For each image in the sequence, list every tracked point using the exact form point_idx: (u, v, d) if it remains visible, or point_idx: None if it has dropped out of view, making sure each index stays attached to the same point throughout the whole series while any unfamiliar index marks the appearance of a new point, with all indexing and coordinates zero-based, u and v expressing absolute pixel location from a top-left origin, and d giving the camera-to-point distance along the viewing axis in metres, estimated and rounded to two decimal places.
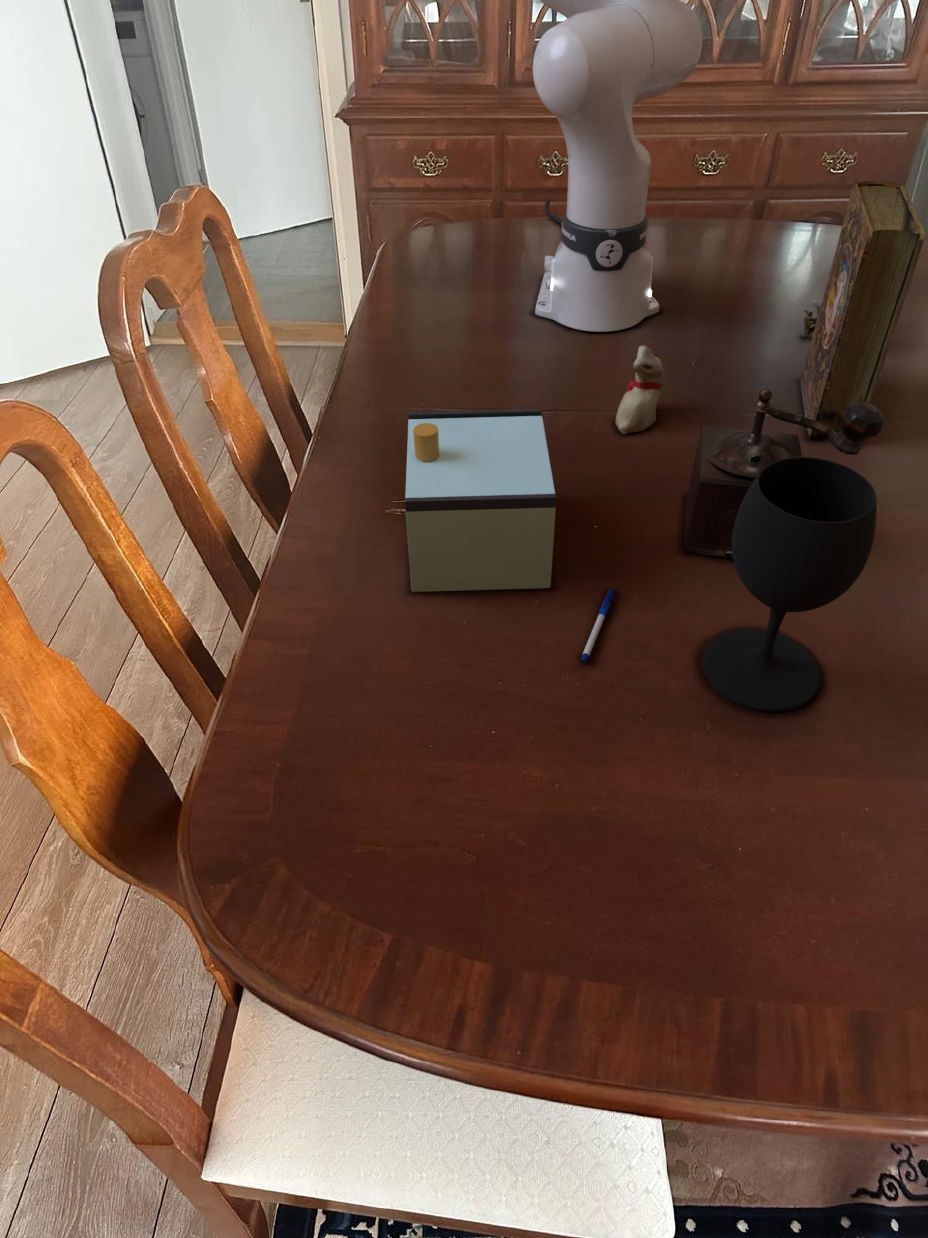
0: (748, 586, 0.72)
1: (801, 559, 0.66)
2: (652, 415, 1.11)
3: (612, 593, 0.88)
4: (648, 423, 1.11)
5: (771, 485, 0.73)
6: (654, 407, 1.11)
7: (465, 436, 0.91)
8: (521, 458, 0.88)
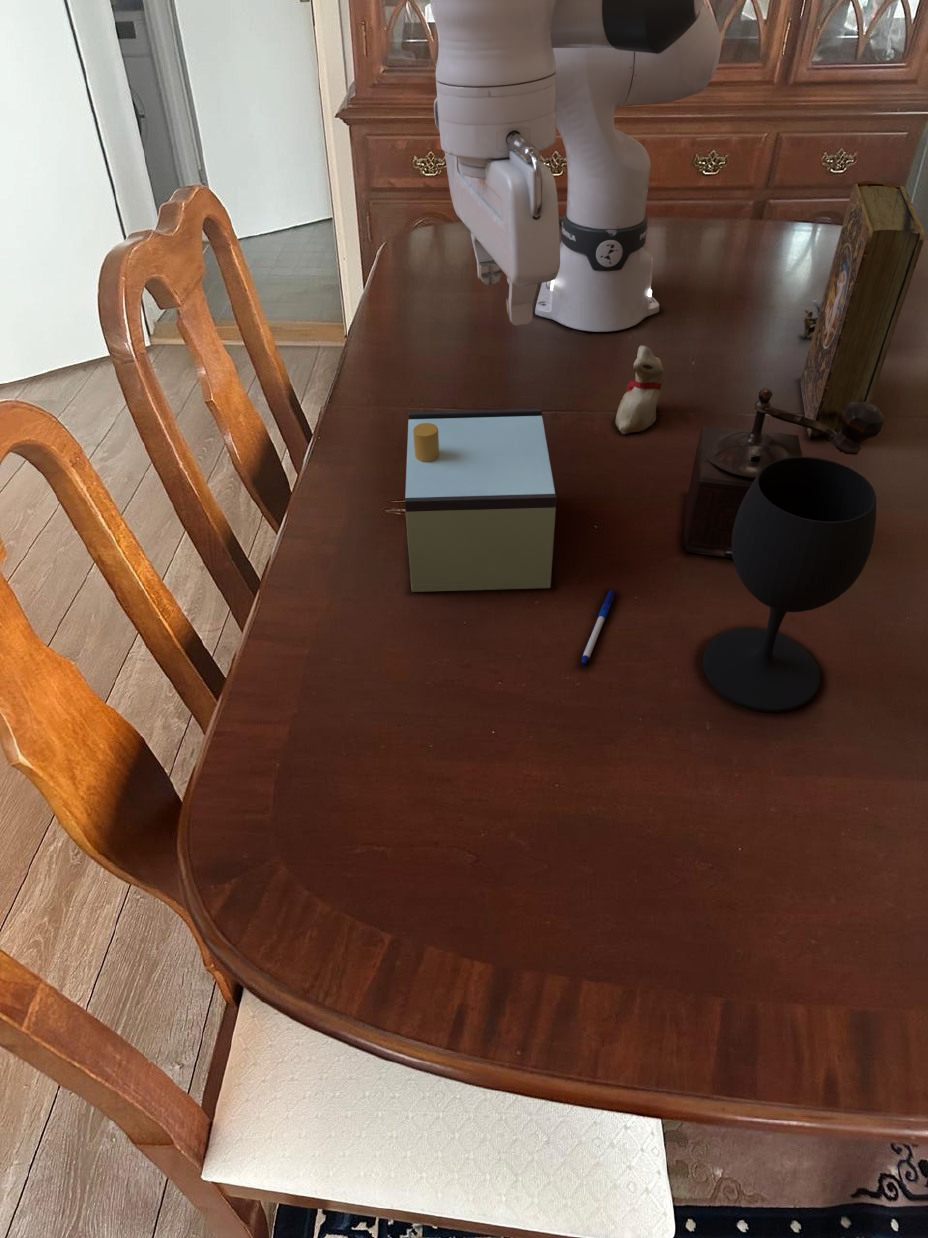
0: (748, 586, 0.72)
1: (801, 559, 0.66)
2: (652, 415, 1.11)
3: (612, 595, 0.88)
4: (648, 423, 1.11)
5: (770, 485, 0.73)
6: (654, 407, 1.11)
7: (465, 436, 0.91)
8: (521, 458, 0.88)
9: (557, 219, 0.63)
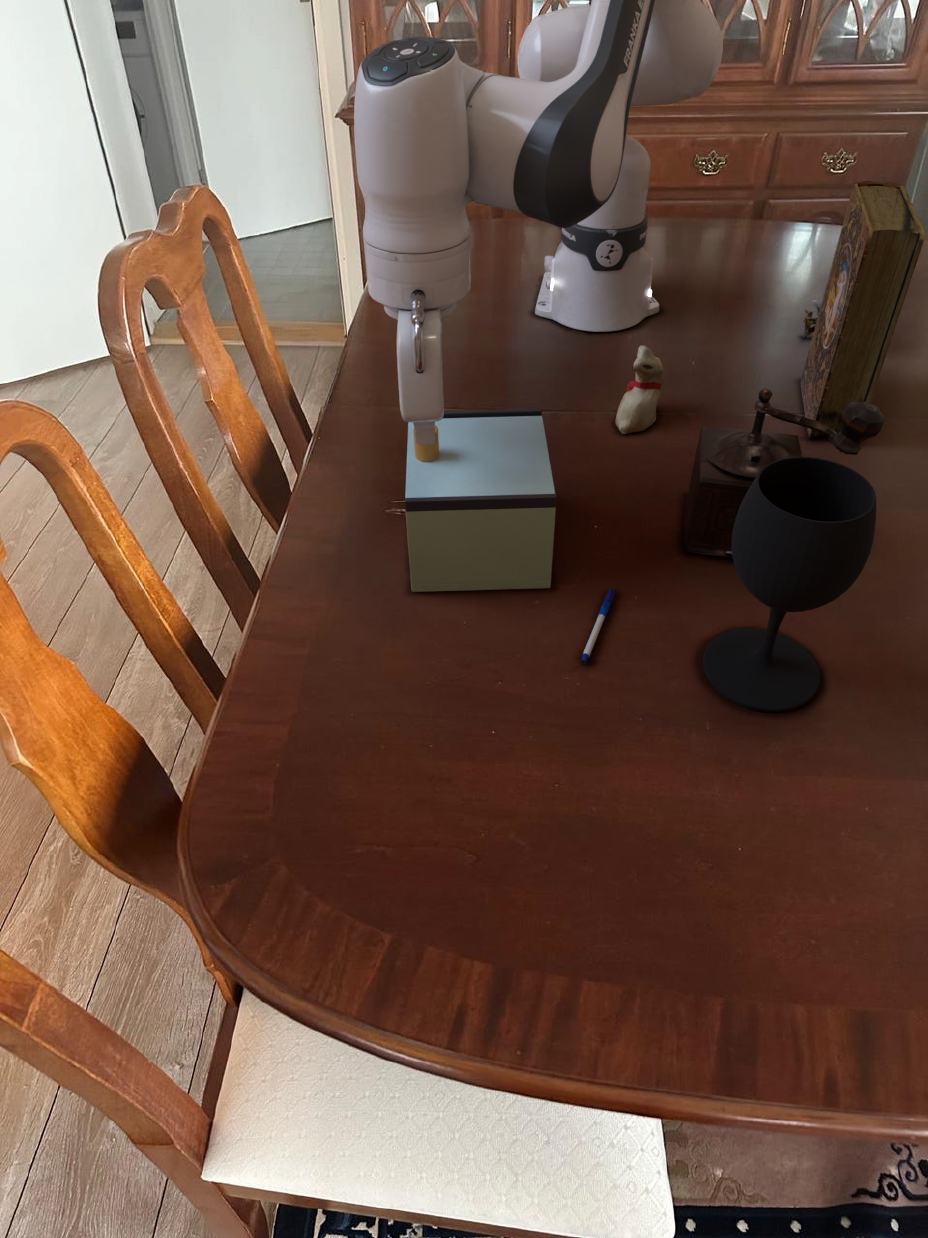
0: (748, 586, 0.72)
1: (801, 559, 0.66)
2: (652, 415, 1.11)
3: (612, 593, 0.88)
4: (648, 423, 1.11)
5: (770, 485, 0.73)
6: (654, 407, 1.11)
7: (465, 436, 0.91)
8: (521, 458, 0.88)
9: (439, 375, 0.72)
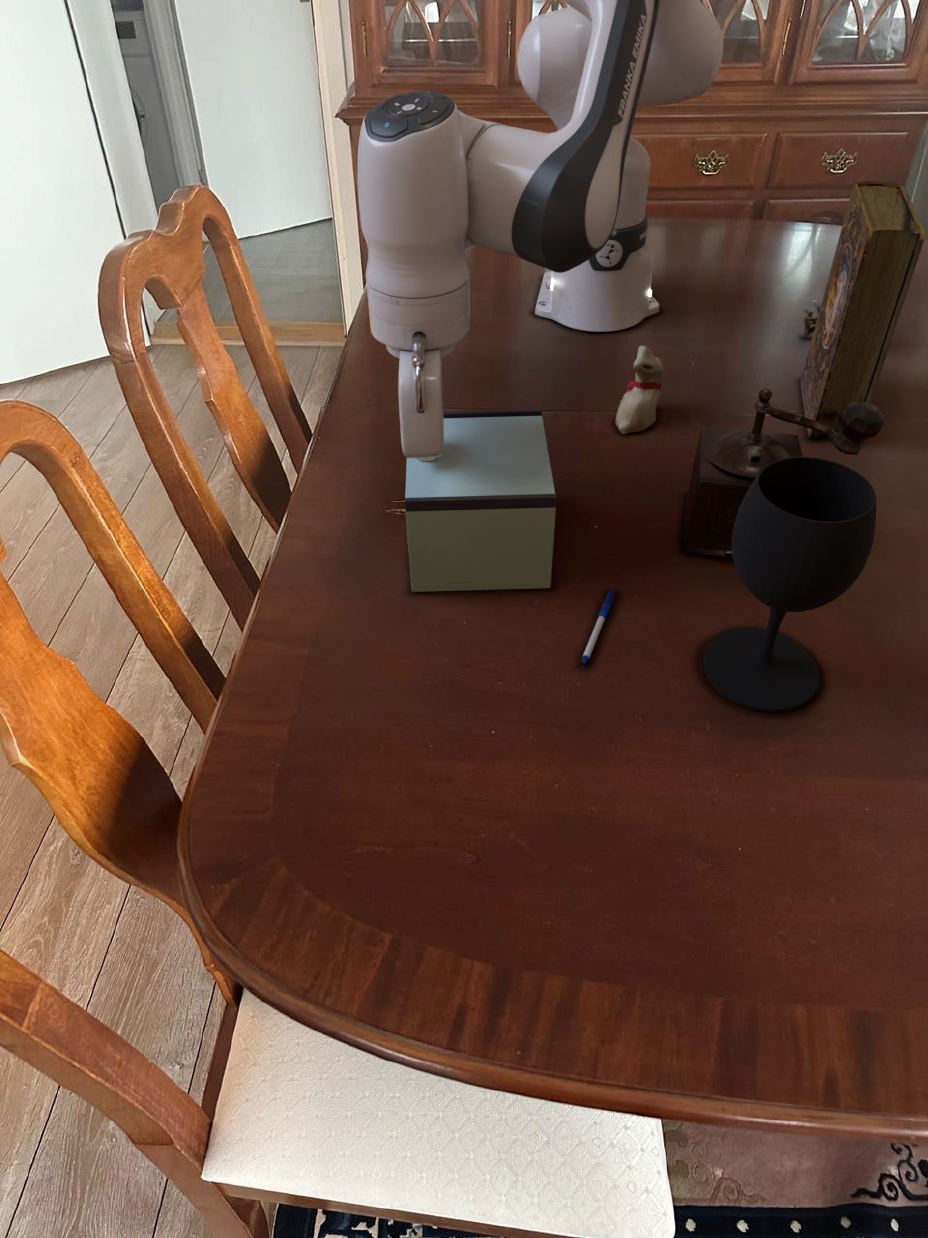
0: (748, 586, 0.72)
1: (801, 559, 0.66)
2: (652, 415, 1.11)
3: (612, 595, 0.88)
4: (648, 423, 1.11)
5: (770, 485, 0.73)
6: (654, 407, 1.11)
7: (465, 436, 0.91)
8: (521, 458, 0.88)
9: (439, 414, 0.74)
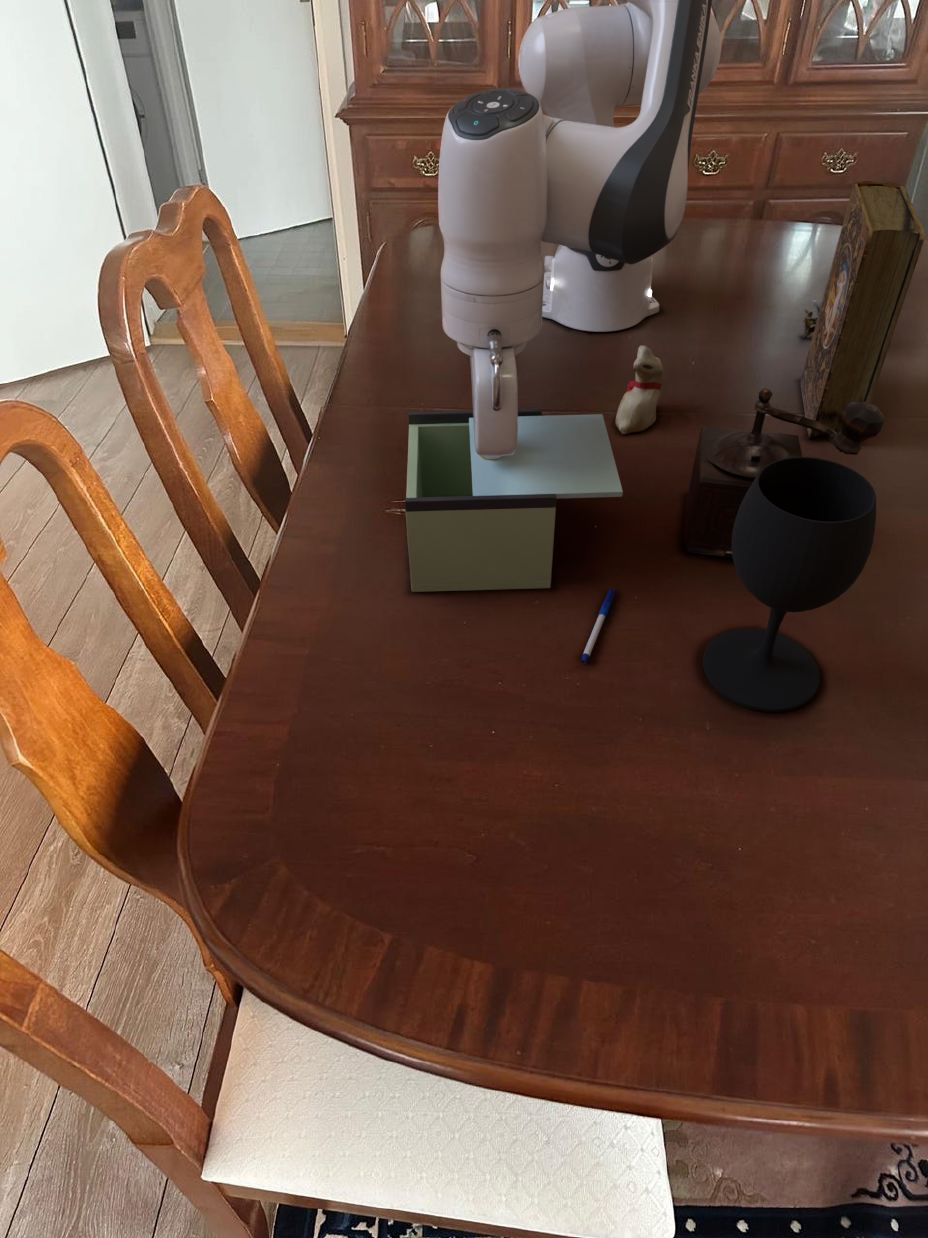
0: (748, 586, 0.72)
1: (801, 559, 0.66)
2: (652, 415, 1.11)
3: (612, 593, 0.88)
4: (648, 423, 1.11)
5: (770, 485, 0.73)
6: (654, 407, 1.11)
7: (527, 434, 0.91)
8: (585, 456, 0.88)
9: (515, 412, 0.74)
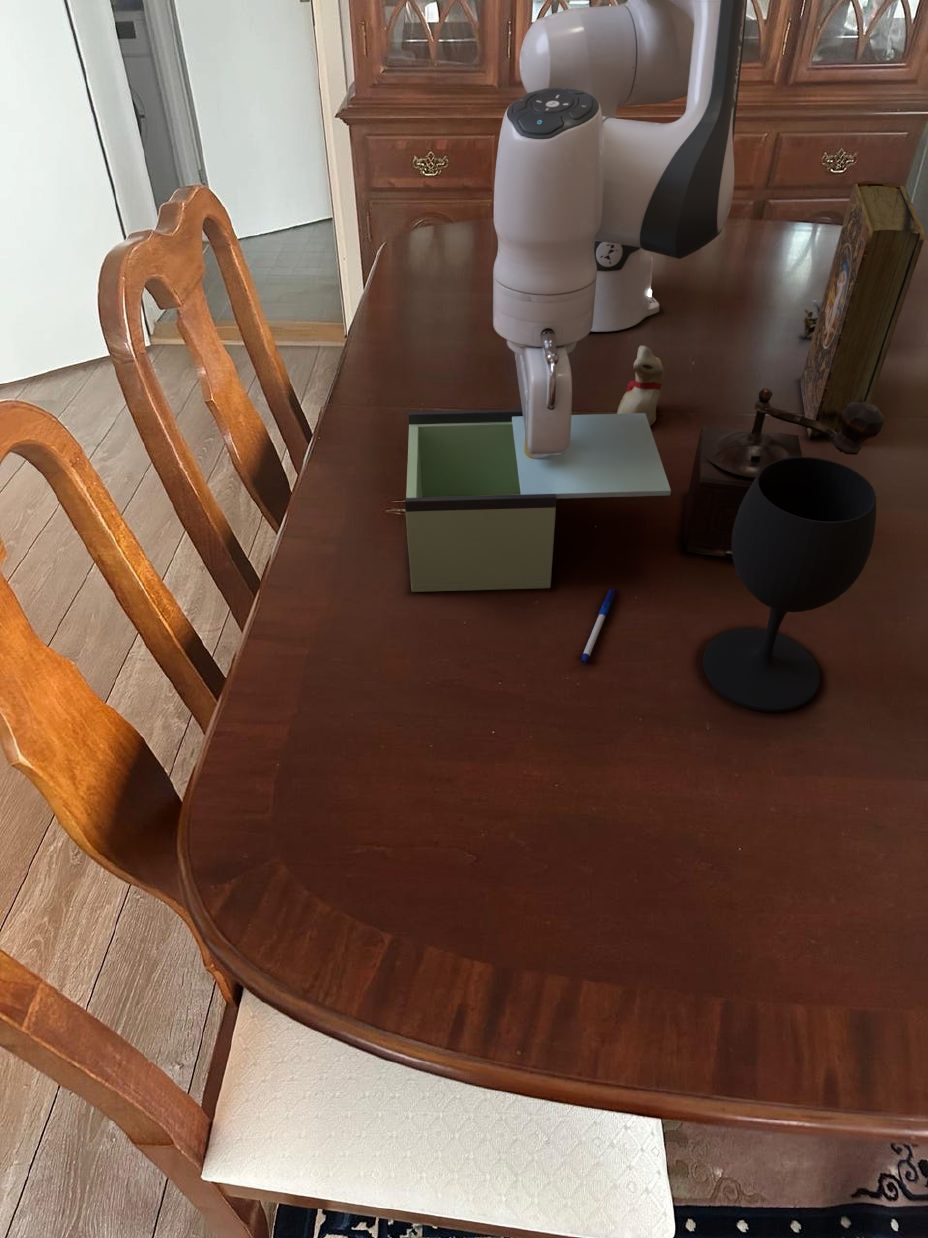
0: (748, 586, 0.72)
1: (801, 559, 0.66)
2: (652, 415, 1.11)
3: (612, 593, 0.88)
4: None
5: (770, 485, 0.73)
6: (654, 407, 1.11)
7: (571, 433, 0.91)
8: (631, 455, 0.88)
9: (569, 411, 0.74)
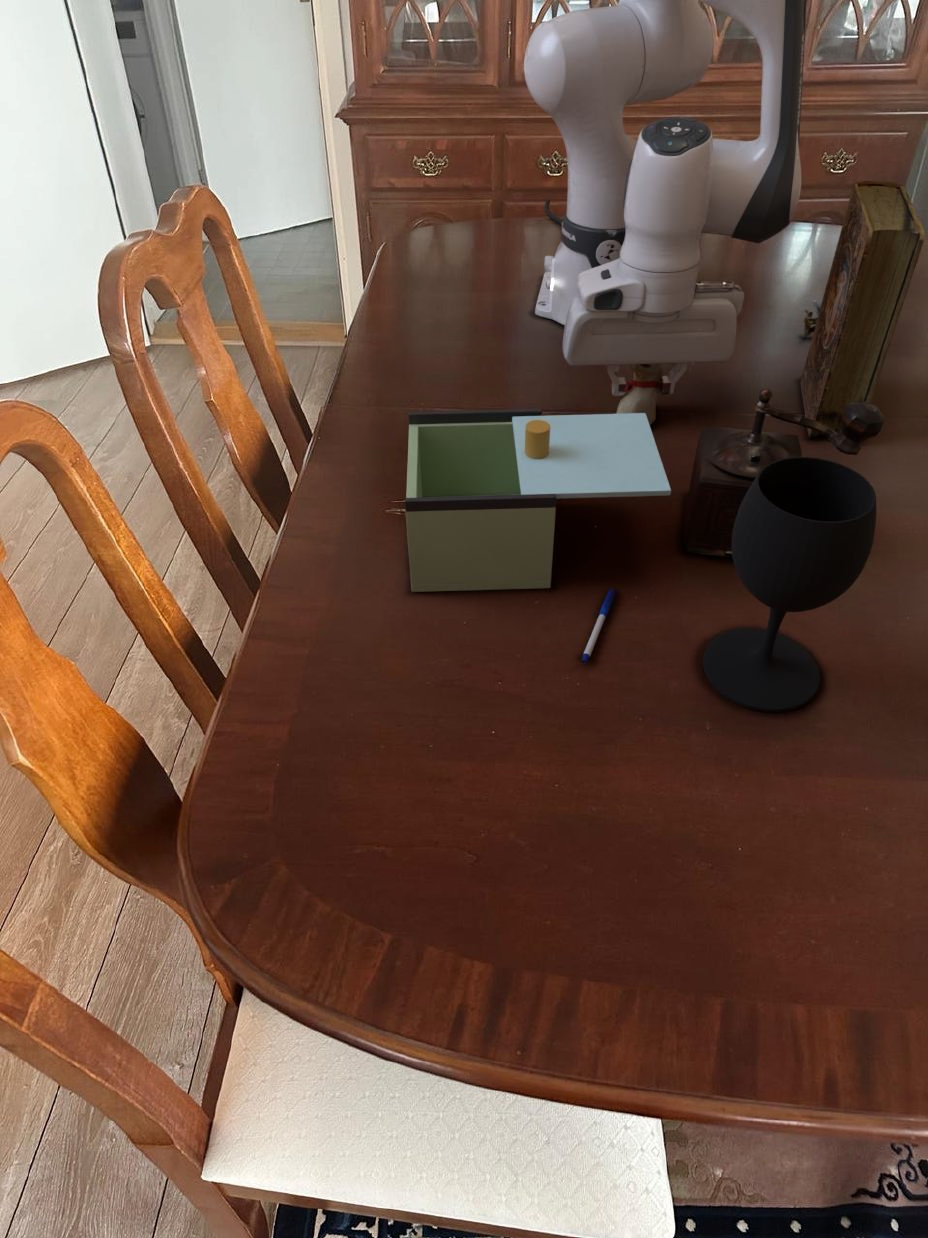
0: (748, 586, 0.72)
1: (801, 559, 0.66)
2: (652, 414, 1.11)
3: (613, 593, 0.88)
4: None
5: (770, 485, 0.73)
6: (653, 406, 1.11)
7: (572, 433, 0.91)
8: (631, 455, 0.88)
9: None
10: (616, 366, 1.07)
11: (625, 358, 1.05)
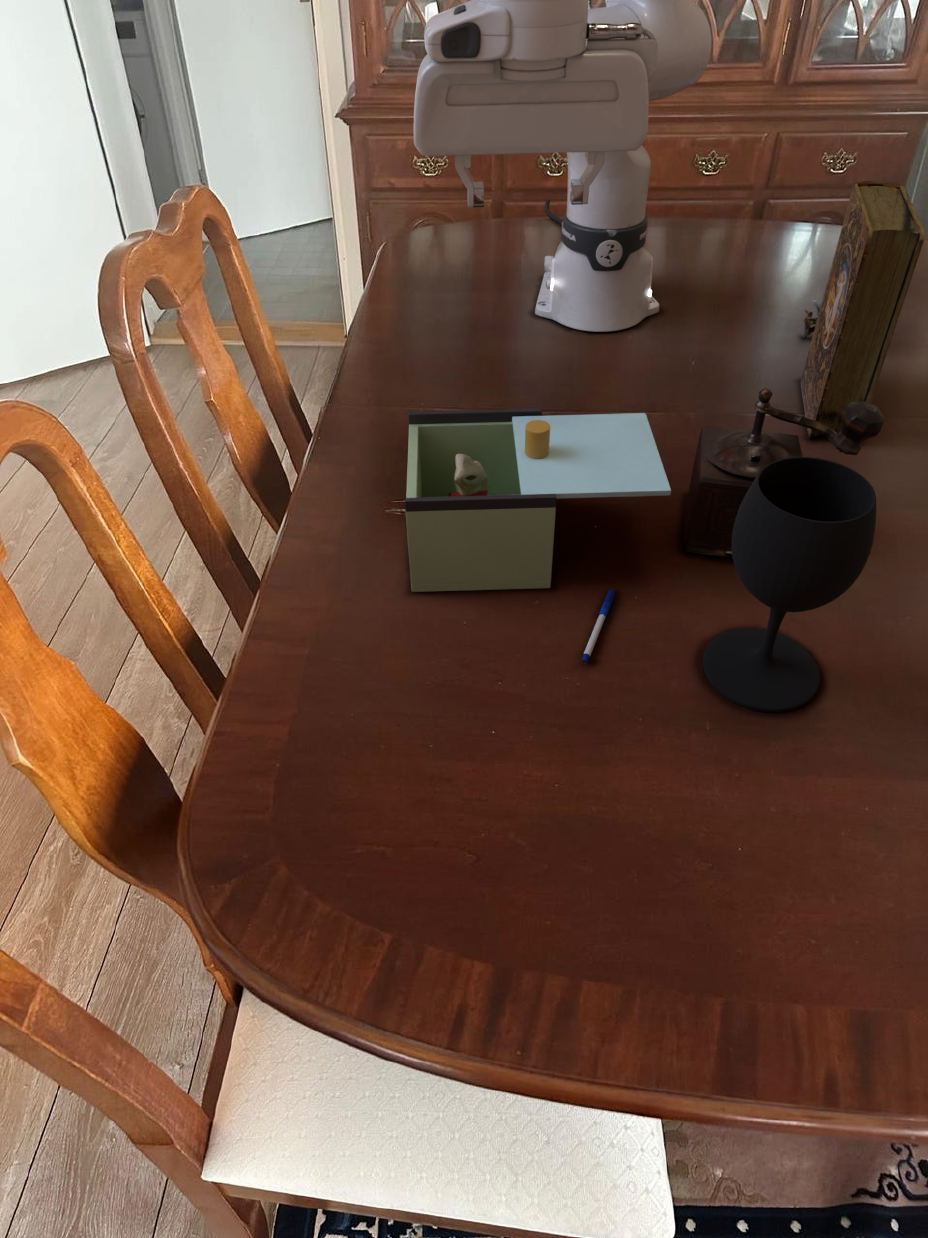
0: (748, 586, 0.72)
1: (801, 559, 0.66)
2: None
3: (613, 593, 0.88)
4: None
5: (770, 485, 0.73)
6: None
7: (572, 433, 0.91)
8: (631, 455, 0.88)
9: None
10: (466, 159, 0.78)
11: (497, 143, 0.76)
